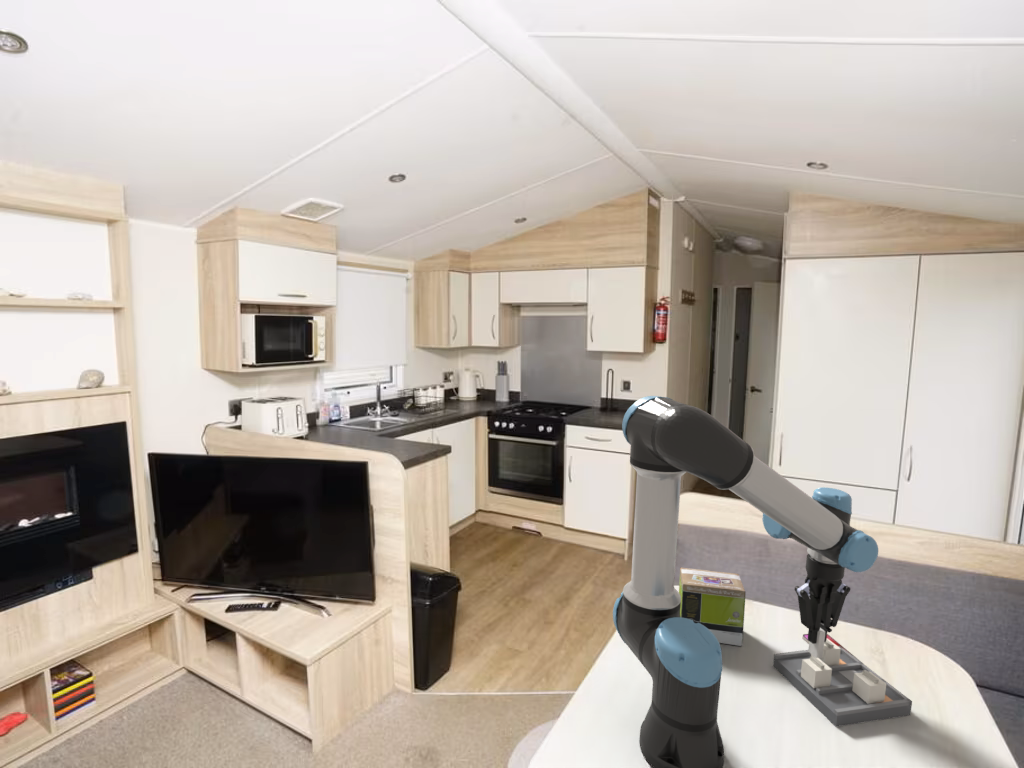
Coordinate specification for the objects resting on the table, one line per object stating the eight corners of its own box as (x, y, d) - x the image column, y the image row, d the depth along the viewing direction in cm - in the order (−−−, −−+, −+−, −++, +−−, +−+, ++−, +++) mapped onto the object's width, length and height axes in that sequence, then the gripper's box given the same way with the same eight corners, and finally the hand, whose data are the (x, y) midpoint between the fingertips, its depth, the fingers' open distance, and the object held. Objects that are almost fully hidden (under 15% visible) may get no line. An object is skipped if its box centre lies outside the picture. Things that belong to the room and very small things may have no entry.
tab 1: (823, 666, 125) (826, 647, 124) (810, 655, 128) (813, 636, 128) (838, 664, 125) (841, 645, 125) (825, 654, 129) (827, 635, 129)
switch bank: (835, 726, 110) (837, 712, 110) (772, 666, 128) (774, 653, 128) (910, 715, 114) (912, 701, 113) (838, 658, 132) (840, 646, 132)
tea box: (735, 625, 145) (740, 572, 143) (742, 648, 135) (747, 591, 133) (676, 617, 148) (680, 565, 146) (678, 638, 139) (682, 583, 137)
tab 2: (813, 688, 117) (816, 667, 117) (800, 676, 121) (802, 656, 120) (830, 686, 118) (832, 665, 117) (816, 674, 122) (818, 654, 121)
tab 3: (867, 703, 113) (870, 682, 112) (852, 690, 117) (854, 669, 116) (884, 701, 114) (886, 680, 113) (868, 688, 118) (870, 667, 117)
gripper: (813, 567, 118) (802, 668, 121) (864, 563, 121) (852, 662, 124) (788, 552, 125) (779, 647, 128) (837, 548, 128) (827, 642, 131)
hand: (815, 654), depth 126 cm, fingers closed
